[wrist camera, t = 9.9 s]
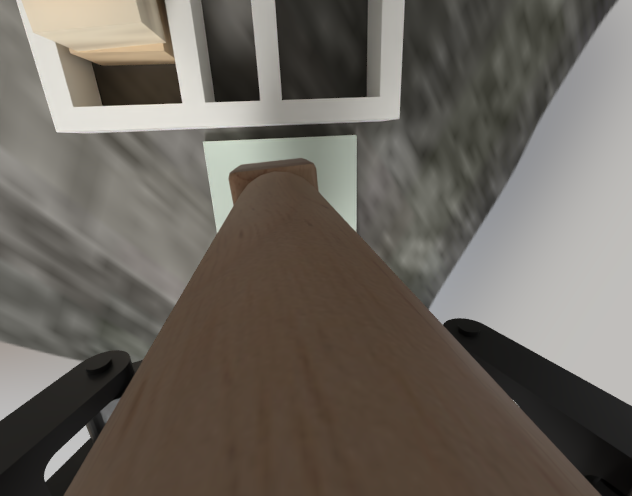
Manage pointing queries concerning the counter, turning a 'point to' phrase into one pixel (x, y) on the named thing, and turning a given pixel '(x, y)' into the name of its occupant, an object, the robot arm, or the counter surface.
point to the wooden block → (311, 376)
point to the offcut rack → (197, 87)
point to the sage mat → (325, 152)
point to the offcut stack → (106, 29)
